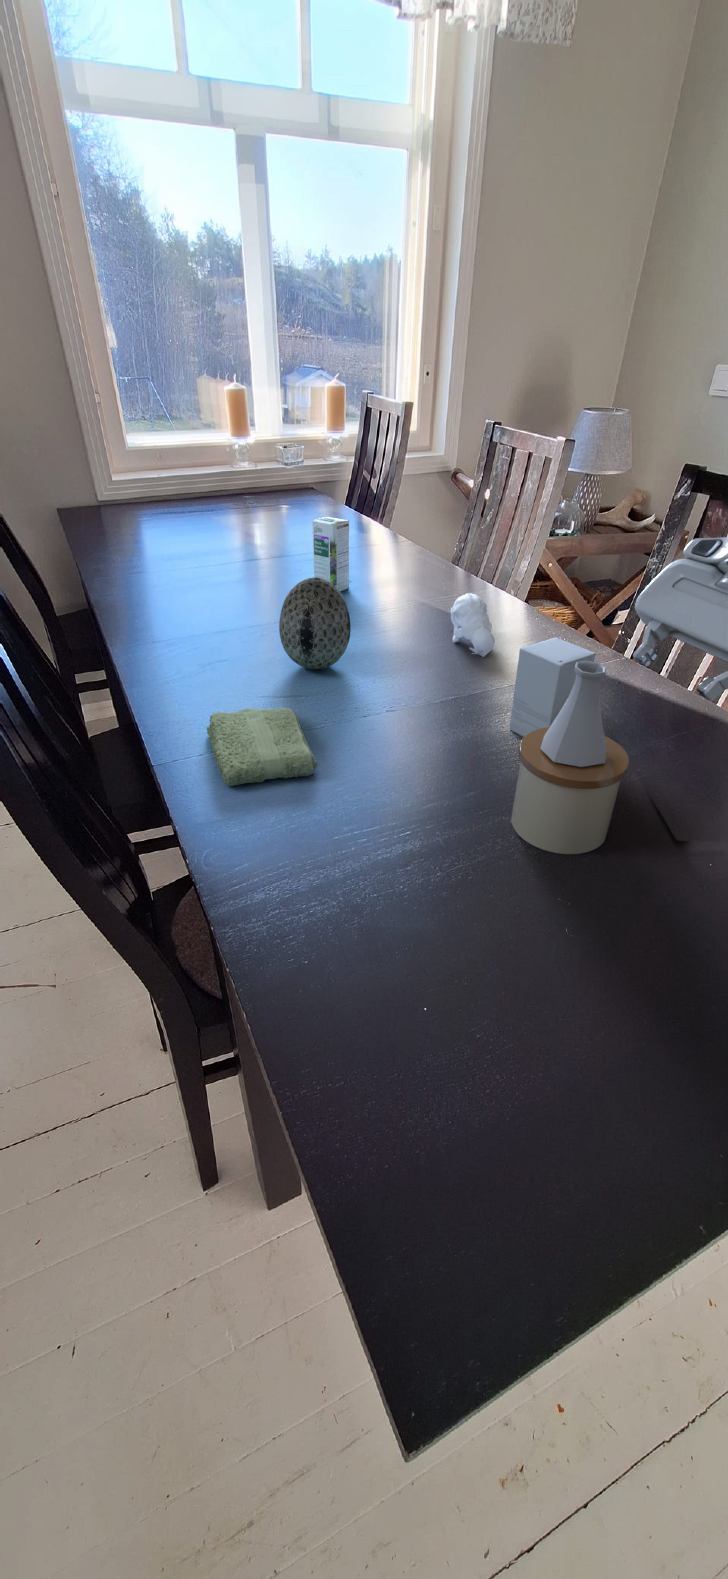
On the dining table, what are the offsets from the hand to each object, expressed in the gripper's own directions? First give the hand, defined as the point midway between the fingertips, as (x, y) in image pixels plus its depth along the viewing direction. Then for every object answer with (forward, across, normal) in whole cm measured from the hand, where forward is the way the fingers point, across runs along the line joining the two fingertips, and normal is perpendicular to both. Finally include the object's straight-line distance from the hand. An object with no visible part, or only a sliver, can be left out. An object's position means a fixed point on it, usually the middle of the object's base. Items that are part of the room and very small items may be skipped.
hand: (669, 677), depth 76 cm
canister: (+20, 0, -4) cm, 20 cm away
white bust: (+6, +50, -18) cm, 53 cm away
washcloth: (+39, +30, +15) cm, 52 cm away
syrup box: (+14, +90, -10) cm, 92 cm away
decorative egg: (+27, +53, +3) cm, 60 cm away
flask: (+13, 0, +3) cm, 13 cm away
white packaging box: (+12, +19, -12) cm, 25 cm away
